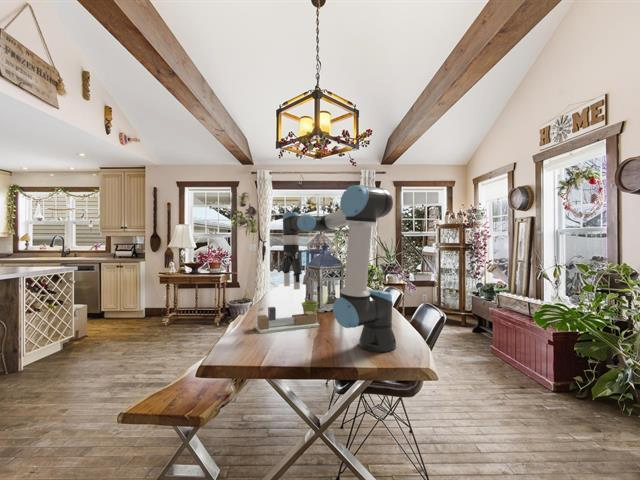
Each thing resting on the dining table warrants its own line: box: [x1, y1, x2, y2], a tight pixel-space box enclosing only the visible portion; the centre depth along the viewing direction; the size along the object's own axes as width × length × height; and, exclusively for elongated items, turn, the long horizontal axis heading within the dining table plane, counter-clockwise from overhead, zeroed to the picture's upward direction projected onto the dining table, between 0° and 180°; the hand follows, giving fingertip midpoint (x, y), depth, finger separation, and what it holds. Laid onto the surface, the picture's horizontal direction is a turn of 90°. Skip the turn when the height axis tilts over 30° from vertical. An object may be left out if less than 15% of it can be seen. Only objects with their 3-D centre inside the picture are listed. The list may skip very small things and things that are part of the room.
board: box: [254, 311, 320, 335], centre depth 170 cm, size 12×30×6 cm, turn 114°
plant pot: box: [301, 301, 319, 315], centre depth 188 cm, size 9×9×9 cm
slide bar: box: [267, 306, 295, 327], centre depth 169 cm, size 3×17×9 cm, turn 114°
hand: (291, 287), depth 166 cm, fingers open, 13 cm apart
